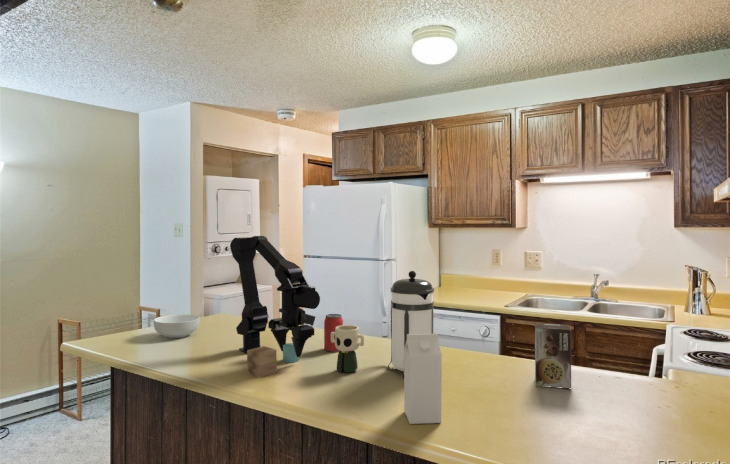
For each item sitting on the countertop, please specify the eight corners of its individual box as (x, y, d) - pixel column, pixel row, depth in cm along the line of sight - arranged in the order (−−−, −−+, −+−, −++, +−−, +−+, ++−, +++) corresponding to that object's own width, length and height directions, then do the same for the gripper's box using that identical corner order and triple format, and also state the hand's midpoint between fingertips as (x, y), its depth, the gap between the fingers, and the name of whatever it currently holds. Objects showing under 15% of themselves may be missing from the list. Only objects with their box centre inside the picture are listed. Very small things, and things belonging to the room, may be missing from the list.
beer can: (344, 347, 164) (344, 313, 164) (341, 352, 158) (341, 317, 157) (326, 346, 165) (326, 313, 165) (322, 352, 158) (322, 317, 158)
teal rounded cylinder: (280, 360, 149) (280, 344, 149) (293, 357, 152) (293, 342, 152) (288, 363, 145) (288, 348, 145) (301, 360, 148) (301, 345, 148)
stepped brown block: (247, 362, 136) (247, 350, 136) (263, 357, 141) (263, 346, 141) (259, 366, 132) (259, 353, 132) (276, 361, 137) (276, 349, 137)
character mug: (325, 372, 137) (325, 328, 137) (336, 365, 144) (336, 323, 143) (358, 376, 133) (358, 331, 133) (368, 369, 139) (368, 326, 139)
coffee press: (444, 366, 142) (444, 269, 141) (428, 383, 128) (429, 274, 127) (391, 359, 149) (391, 267, 149) (371, 374, 135) (371, 271, 134)
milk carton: (404, 411, 108) (404, 330, 108) (434, 410, 109) (434, 330, 109) (409, 424, 101) (409, 338, 101) (441, 423, 102) (441, 337, 102)
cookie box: (569, 382, 128) (569, 324, 128) (571, 390, 122) (572, 329, 122) (534, 378, 131) (534, 322, 131) (534, 386, 125) (535, 326, 125)
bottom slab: (248, 373, 137) (248, 361, 137) (266, 369, 141) (266, 357, 141) (258, 378, 132) (258, 366, 132) (276, 374, 136) (276, 362, 136)
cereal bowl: (190, 341, 172) (189, 322, 172) (145, 341, 173) (145, 322, 172) (206, 330, 189) (206, 313, 189) (165, 330, 190) (165, 313, 189)
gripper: (328, 306, 147) (328, 355, 147) (296, 299, 161) (296, 344, 161) (298, 310, 139) (298, 362, 140) (267, 302, 153) (267, 349, 154)
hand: (290, 354), depth 149 cm, fingers open, 9 cm apart
